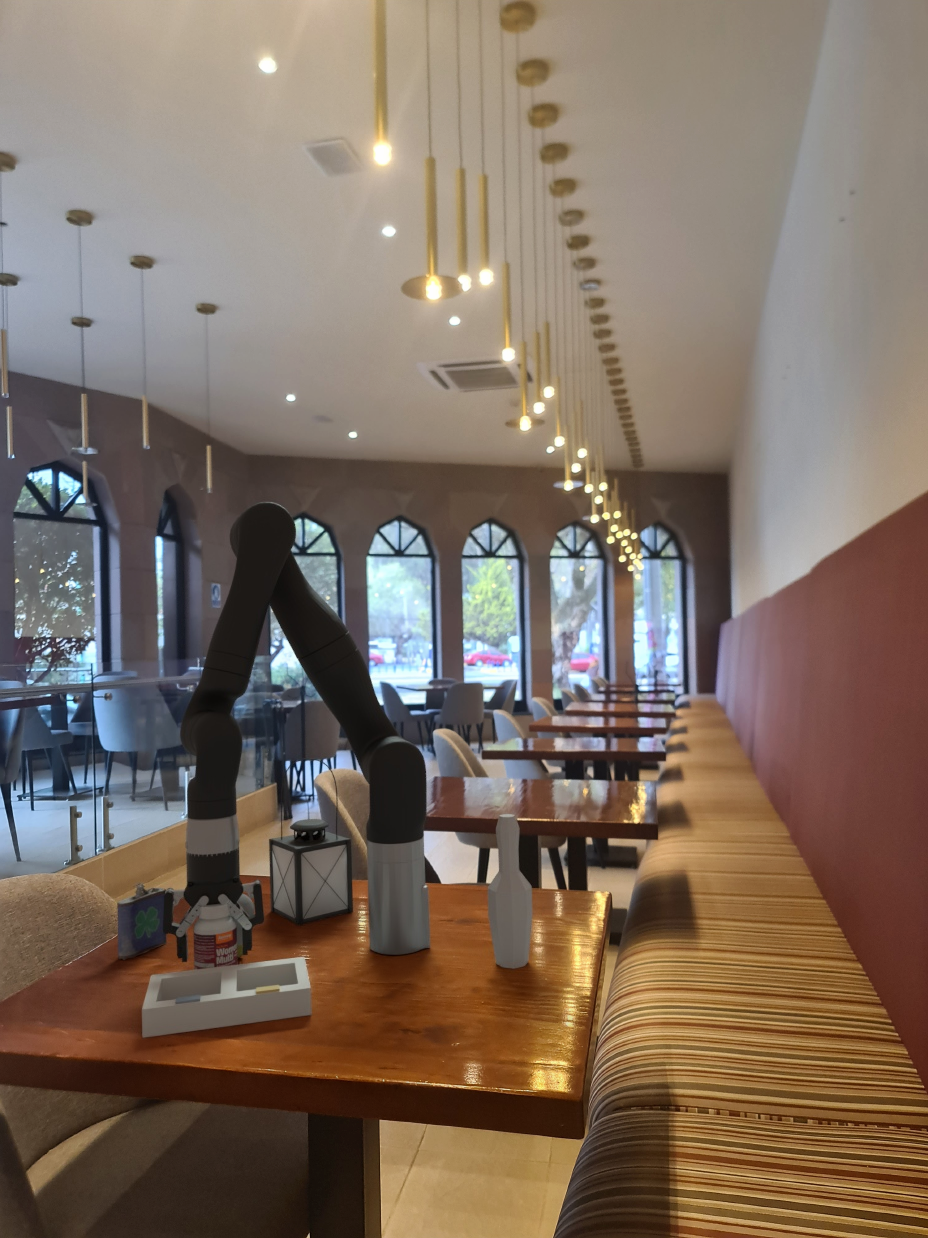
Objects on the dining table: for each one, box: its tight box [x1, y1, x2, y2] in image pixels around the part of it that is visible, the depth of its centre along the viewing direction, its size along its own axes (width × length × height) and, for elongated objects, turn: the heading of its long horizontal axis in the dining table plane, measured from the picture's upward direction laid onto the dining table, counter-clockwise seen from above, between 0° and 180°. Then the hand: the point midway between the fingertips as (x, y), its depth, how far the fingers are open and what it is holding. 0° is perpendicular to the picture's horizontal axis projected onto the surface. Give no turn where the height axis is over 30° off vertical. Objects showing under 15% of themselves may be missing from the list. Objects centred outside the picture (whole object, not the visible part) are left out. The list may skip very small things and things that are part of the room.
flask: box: [116, 882, 167, 961], centre depth 142 cm, size 9×3×11 cm, turn 151°
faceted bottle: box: [487, 813, 533, 970], centre depth 131 cm, size 6×6×22 cm
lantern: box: [268, 757, 354, 926], centre depth 160 cm, size 11×11×28 cm
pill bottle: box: [192, 904, 239, 970], centre depth 128 cm, size 6×6×11 cm
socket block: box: [141, 956, 312, 1039], centre depth 118 cm, size 21×12×4 cm, turn 104°
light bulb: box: [230, 893, 255, 960], centre depth 137 cm, size 6×6×10 cm
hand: (215, 957), depth 128 cm, fingers open, 8 cm apart
